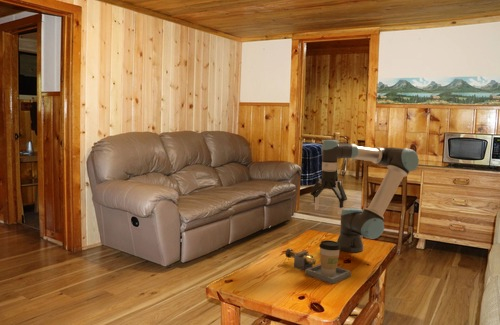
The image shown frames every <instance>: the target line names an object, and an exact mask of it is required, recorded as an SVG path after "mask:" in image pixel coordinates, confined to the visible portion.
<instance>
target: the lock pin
mask: <svg viewBox="0 0 500 325" xmlns="http://www.w3.org/2000/svg"><path fill="white" fill-rule="evenodd" d="M296 253H297V252H296V251H293V249H292V248H287V249H286V251H285V254H284V255H285V257H286V258H289V259H291V258H292V259H294V255H296ZM301 256H302V257H305V258H306V262H307V263H310V264H312V265H313V266H315V264H317V263H316V262H317V259H316V258H314V257H313V258H311V257H308V256H305V255H301Z"/></svg>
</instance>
